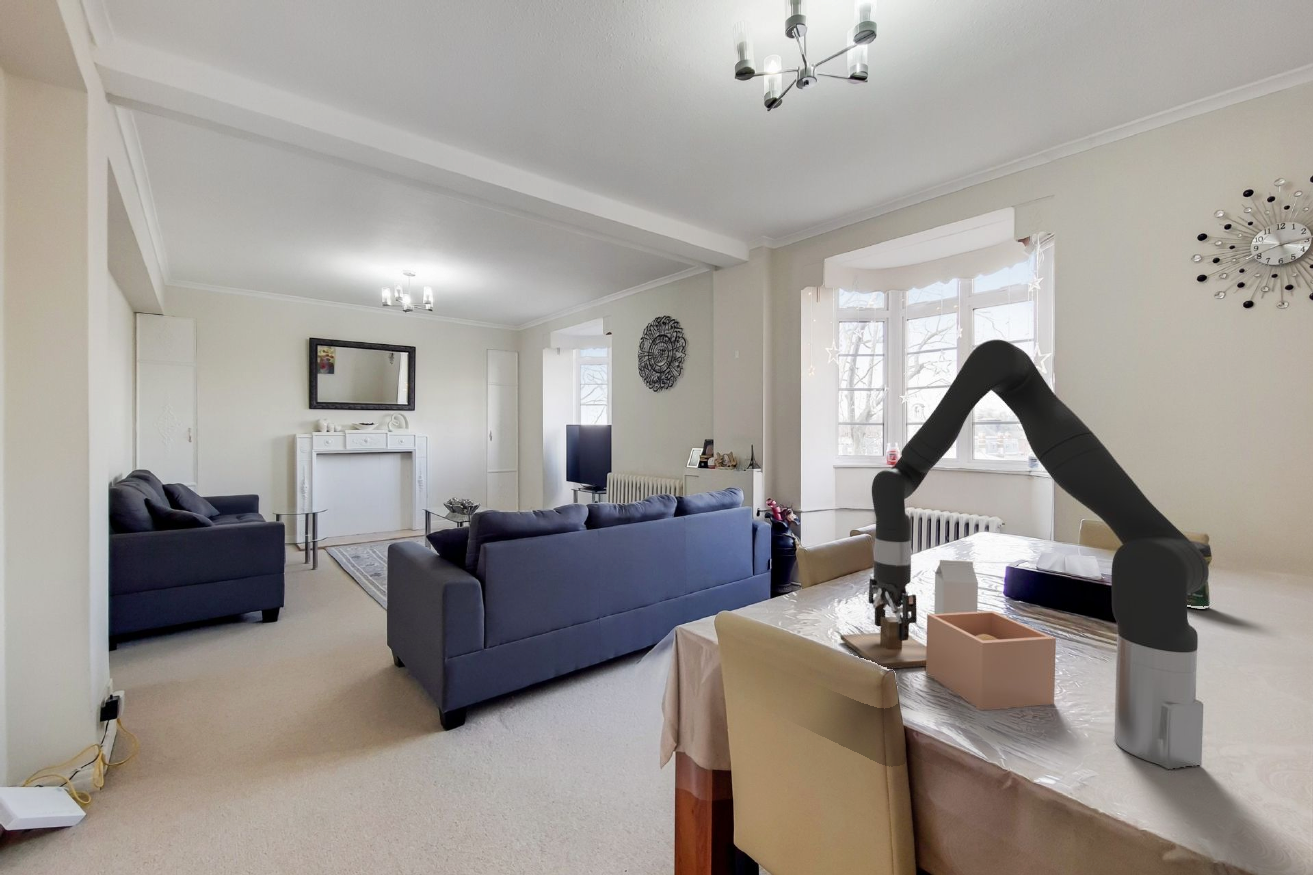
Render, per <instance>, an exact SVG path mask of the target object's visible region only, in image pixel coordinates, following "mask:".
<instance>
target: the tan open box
mask: <svg viewBox="0 0 1313 875" xmlns="http://www.w3.org/2000/svg"><path fill="white" fill-rule="evenodd" d="M980 634H987V635H990V636H993V637H995V638H997V639H998V640H985V641H983V640H981V639H979V638H977V637H975V636H977V635H980ZM1056 644H1057V638H1056V637H1054V636H1051V635H1049V634H1047V633H1044V632H1042V631H1040V630H1038V629H1035V628H1033V627H1031V626H1029V625H1026V624H1024V623H1022V622H1019V621H1016V620H1014V619H1012V618H1010V617H1008V616H1006V615H1002V614H1000V613H998V612H996V611H994V610H985V611H984V610H982V611H977V612H962V613H943V614H934V613H930V614H928V613H927V616H926V666H925V674H927V675H928V676H930V677H931V678H933V679H934V680H936V681H937V682H939V683H940V684H941V685H943V686H945V687H946V688H947V689H949V690H951V691H952V692H953V693H954V694H957V695H958V696H959V697H961V698H962V699H964V700H965V701H967V702H968V703H970V704H971V705H972V706H974V707H975V708H977V709H978V710H980V711H989V710H1001V709H1012V708H1013V709H1014V708H1021V707H1033V706H1036V707H1037V706H1045V705H1046V706H1047V705H1055V684H1056V683H1055V682H1056V680H1055V679H1056V655H1057V654H1056V653H1057V652H1056V651H1057V650H1056V648H1057V645H1056Z"/></svg>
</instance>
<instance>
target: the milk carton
mask: <svg viewBox="0 0 1313 875" xmlns="http://www.w3.org/2000/svg"><path fill="white" fill-rule="evenodd" d="M934 572H935V573H934V574H935V575H934V613H933V614H943V613H962V612H978V602H979V600H978V599H979V598H978V596H979V595H978V594H979V592H978V591H979V582H978V578H977V575H976V572H975V568H974V561H973V560H971V561H970V560H949V559H939V564H938V566H937V568H936V571H934Z"/></svg>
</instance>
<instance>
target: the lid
mask: <svg viewBox="0 0 1313 875" xmlns="http://www.w3.org/2000/svg"><path fill="white" fill-rule="evenodd" d="M897 622H898V621H897V618H896V616H885V617H881V626H880V631H879V632H872V633H871V632H870V633H869V632H868V633H855V634H854V633H853V634H840V640H841V641H842V642H844V644H846V645H847V644H848V645H849V646H848V645H847V646H848V647H849V648H851V649H852V648H853V649H852V650H854V651H855V652H856V651H857V652H856V653H857V654H859V655H860V654H861V655H862V656H861V655H860V656H861V657H862V658H864V659H865V658H866V659H865V660H867V659H868V660H871V661H872V662H875V663H877V664H878V665H881V666H883V667H887V668H889V669H891V668H890V667H903V668H905V667H904V666H917V667H919V666H918V665H926V647H927V645H925V644H923V643H921V642H920V641H918V640H916V639H915V638H913V637H912V636H910V635H909V637H908V640H905V641H900V640H898V639H897ZM868 660H867V661H868Z"/></svg>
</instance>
